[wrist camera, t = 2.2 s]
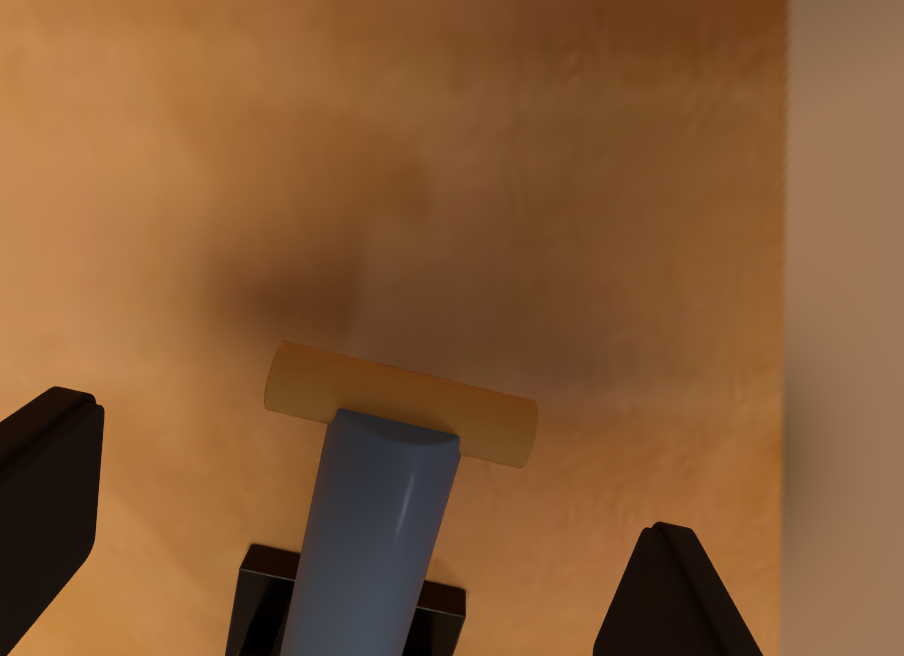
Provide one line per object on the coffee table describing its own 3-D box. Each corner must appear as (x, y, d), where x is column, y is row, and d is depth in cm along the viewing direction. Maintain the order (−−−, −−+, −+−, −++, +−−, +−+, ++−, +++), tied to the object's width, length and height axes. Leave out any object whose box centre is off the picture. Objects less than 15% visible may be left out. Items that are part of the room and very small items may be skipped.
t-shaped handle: (298, 319, 15) (258, 372, 12) (531, 376, 16) (546, 440, 13) (236, 671, 20) (194, 775, 16) (423, 709, 20) (415, 817, 17)
